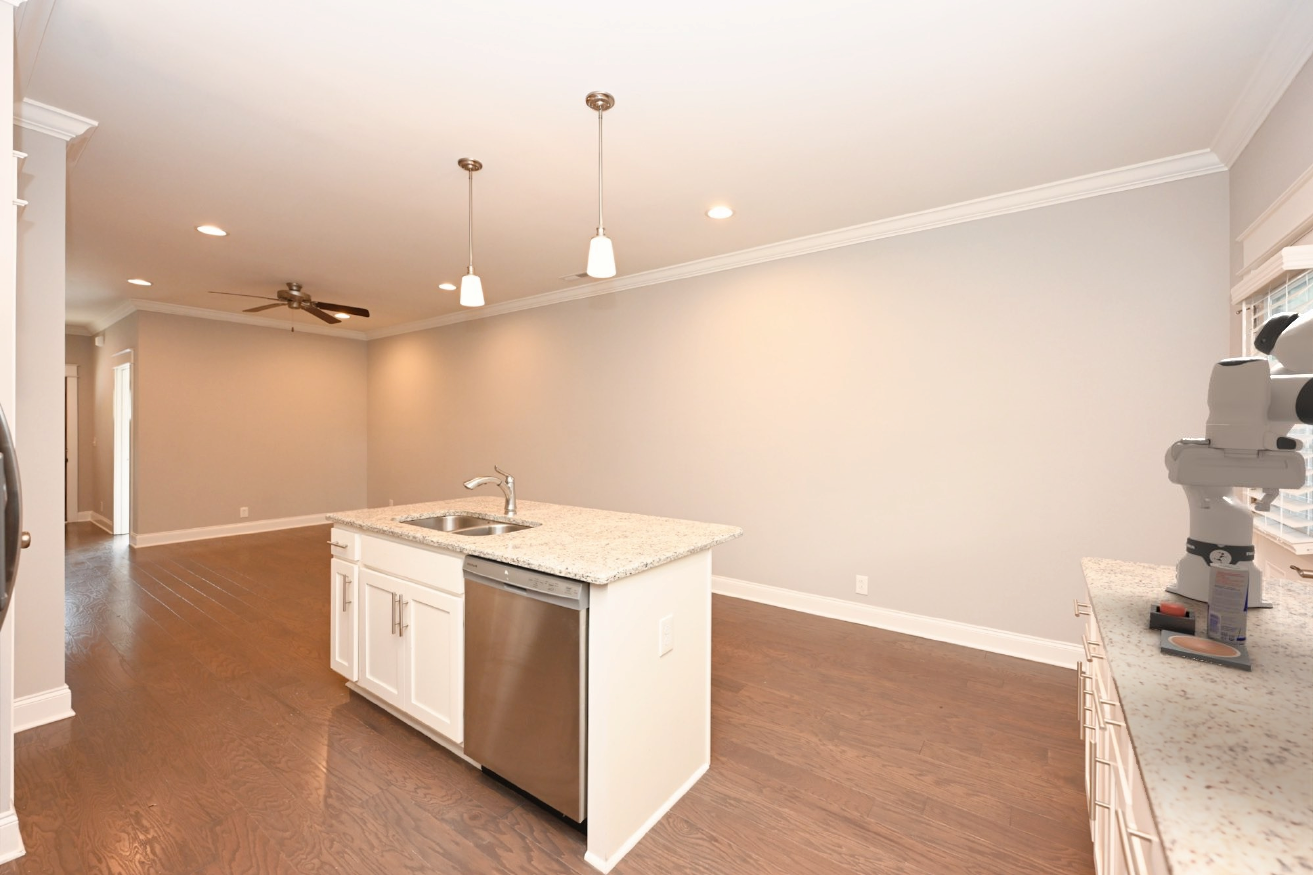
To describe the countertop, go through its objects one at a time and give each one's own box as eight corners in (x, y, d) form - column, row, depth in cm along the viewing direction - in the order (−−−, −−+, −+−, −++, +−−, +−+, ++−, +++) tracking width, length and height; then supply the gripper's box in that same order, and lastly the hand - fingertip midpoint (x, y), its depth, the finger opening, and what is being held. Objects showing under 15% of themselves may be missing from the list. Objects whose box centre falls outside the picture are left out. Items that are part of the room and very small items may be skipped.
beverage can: (1253, 646, 112) (1257, 570, 112) (1219, 644, 113) (1223, 568, 113) (1231, 636, 118) (1235, 563, 117) (1199, 633, 119) (1202, 561, 118)
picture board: (1161, 634, 118) (1161, 628, 118) (1245, 650, 110) (1245, 645, 110) (1160, 651, 109) (1160, 646, 109) (1251, 671, 101) (1251, 665, 101)
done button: (1160, 612, 124) (1160, 601, 124) (1185, 617, 122) (1185, 605, 122) (1159, 617, 121) (1160, 605, 121) (1185, 622, 119) (1185, 610, 119)
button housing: (1150, 619, 127) (1151, 604, 126) (1194, 628, 122) (1195, 611, 122) (1149, 628, 121) (1150, 612, 121) (1194, 637, 117) (1195, 620, 116)
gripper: (1181, 438, 114) (1177, 508, 114) (1314, 441, 108) (1309, 515, 109) (1163, 437, 120) (1159, 504, 120) (1288, 440, 114) (1284, 510, 115)
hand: (1232, 509), depth 114 cm, fingers open, 8 cm apart
